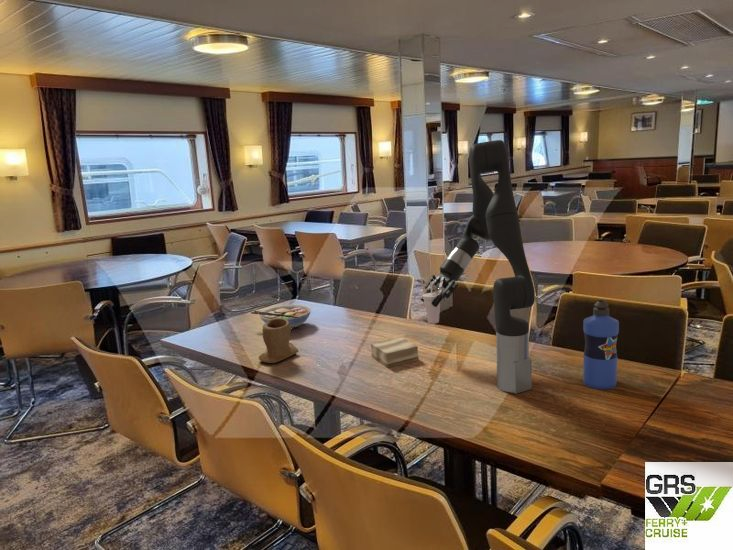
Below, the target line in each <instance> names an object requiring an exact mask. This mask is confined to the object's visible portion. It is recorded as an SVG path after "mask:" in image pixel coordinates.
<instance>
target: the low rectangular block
mask: <svg viewBox="0 0 733 550" xmlns="http://www.w3.org/2000/svg"><path fill="white" fill-rule="evenodd" d="M370 348H371V358H372V357H373V358H372V359H374V360H375V361H376V362H379V363H380V365H383V366H384V367H385V368H387V369H389V368H392V367H397V366H401V365H404V364H409V363H411V362H416V361H419V360H420V359H419V349H418V345H416V344H414V343H413V342H411V341H409V340H407V339H406V338H403V337H401V336H400V337H395V338H394V337H393V338H390V339H387V340H382V341H377V342H373V343H370Z"/></svg>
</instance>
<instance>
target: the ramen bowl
mask: <svg viewBox="0 0 733 550" xmlns="http://www.w3.org/2000/svg"><path fill="white" fill-rule="evenodd" d="M311 312H312V307H311V306H310V305H306V304H296V303H295V304H282V305H277V306H272V307H269V308H265V309H264V310H262V311H259V310H253V311H251V312H250V314H254V315H258V316H259V318H260V319H261V320H262V322H264V324H265V323H266V322H268V321H269V320H271V319H274V318H284V319H286V320H288V321H289V323H290V327H291V328H293V329H295V328H296V327H299V326H301V325H302V324H304V323H305V322H306V321H307V320H308V318H309V317H310V315H311ZM294 327H295V328H294Z"/></svg>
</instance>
